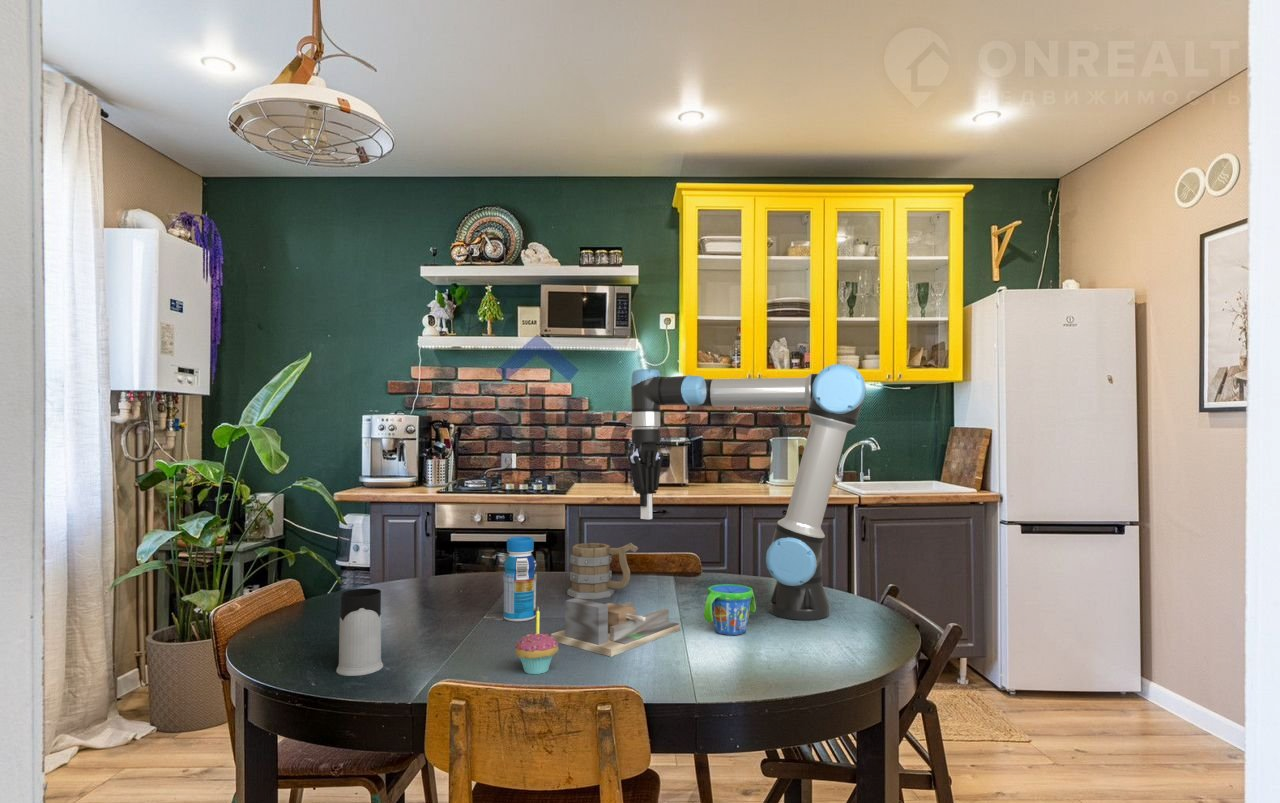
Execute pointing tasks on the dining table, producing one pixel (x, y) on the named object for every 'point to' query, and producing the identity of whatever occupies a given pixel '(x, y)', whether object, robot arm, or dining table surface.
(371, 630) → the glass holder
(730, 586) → the snack cup
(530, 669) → the cupcake
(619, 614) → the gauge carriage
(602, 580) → the tankard
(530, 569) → the beverage bottle
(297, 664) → the dining table surface
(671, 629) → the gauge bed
